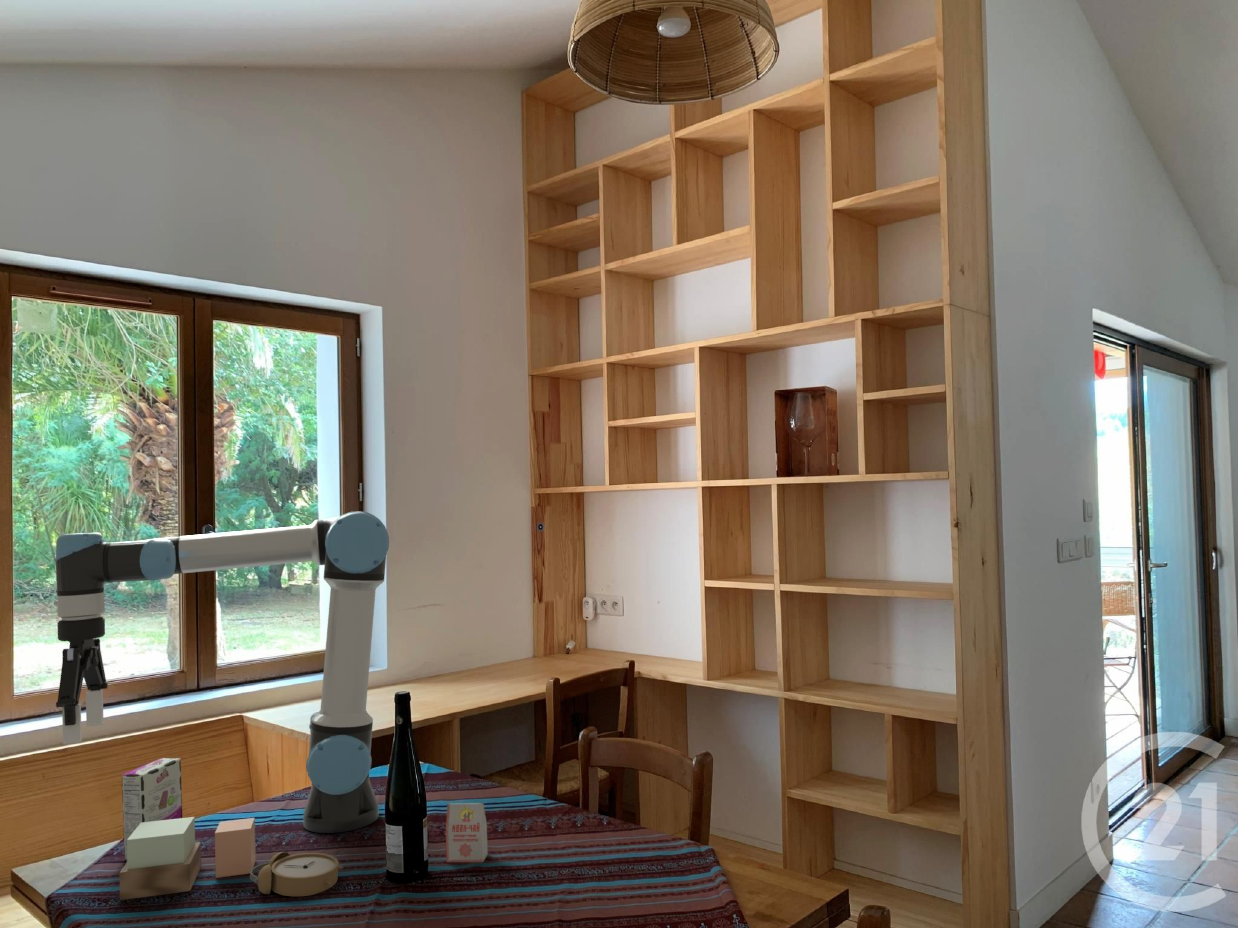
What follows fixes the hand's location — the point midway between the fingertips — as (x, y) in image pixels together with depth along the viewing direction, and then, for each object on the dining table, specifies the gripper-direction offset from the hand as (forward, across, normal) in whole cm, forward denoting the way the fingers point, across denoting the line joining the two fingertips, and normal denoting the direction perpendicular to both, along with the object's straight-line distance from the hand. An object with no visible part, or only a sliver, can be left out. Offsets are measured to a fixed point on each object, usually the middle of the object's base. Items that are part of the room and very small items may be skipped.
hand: (84, 733), depth 168 cm
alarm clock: (+27, +16, +37) cm, 48 cm away
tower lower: (+26, +8, +14) cm, 31 cm away
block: (+26, +6, +26) cm, 37 cm away
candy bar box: (+26, -10, +9) cm, 29 cm away
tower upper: (+21, +8, +14) cm, 27 cm away
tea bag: (+27, +15, +67) cm, 74 cm away
